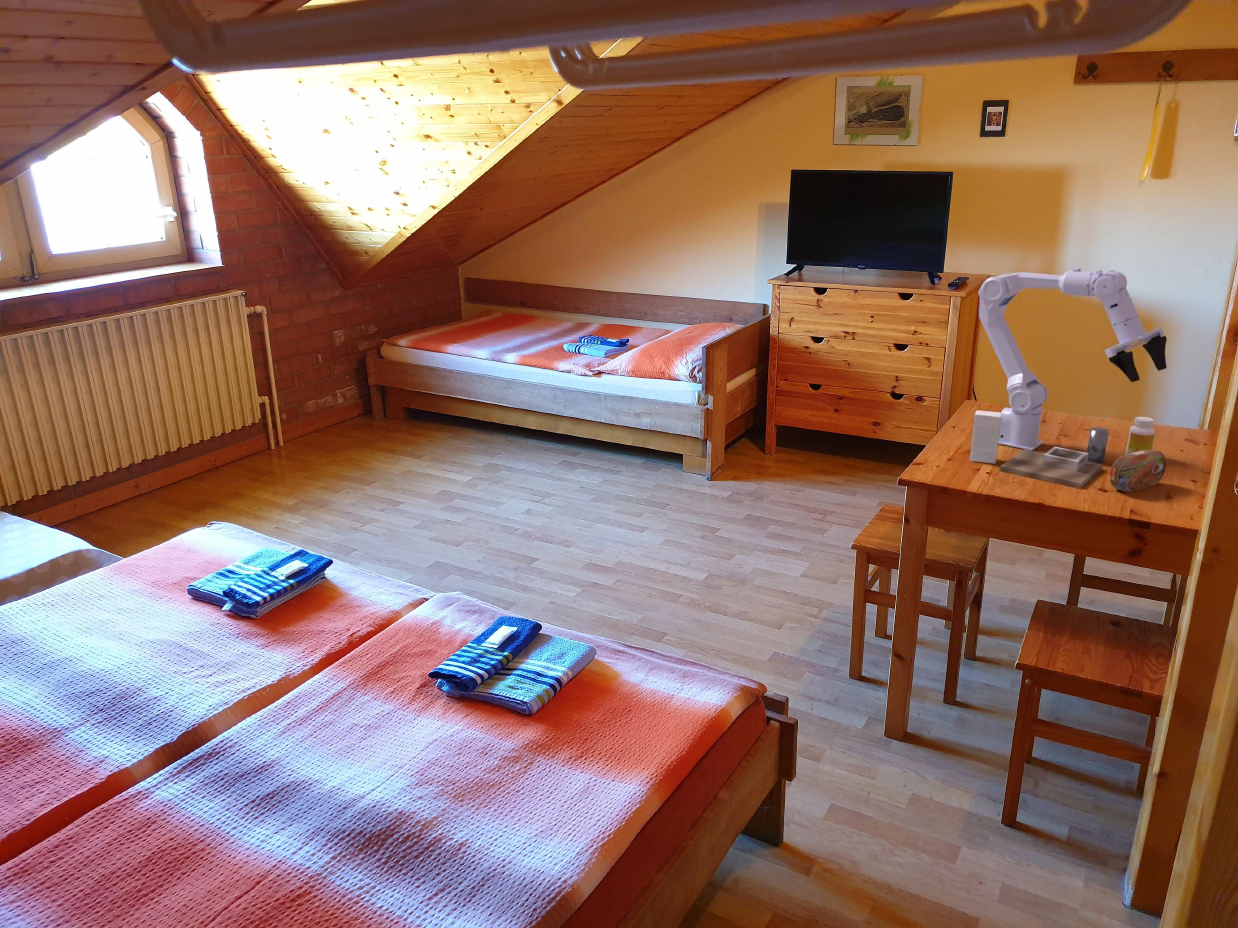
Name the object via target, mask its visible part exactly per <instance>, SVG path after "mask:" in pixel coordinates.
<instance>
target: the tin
mask: <svg viewBox="0 0 1238 928" xmlns="http://www.w3.org/2000/svg"><path fill="white" fill-rule="evenodd" d="M1166 467H1167V462H1166V457H1165V455H1164V453H1163V452H1161V451H1159V450H1153V449H1152V450H1142V451H1138V452H1134V453H1129V454H1122V455H1120V456H1118V457H1117V458H1116V459H1115V461H1114V462H1113V464H1112V465H1111V469H1110V475H1109V482H1110V484H1111V486H1112V488H1114V489H1115V490H1118V491H1122V492H1124V493H1131V492H1135V491H1140V490H1143V489H1147V488H1151V487H1154V486H1156V485H1157V484H1158V483H1159V482H1160V481H1161V479H1163V476H1164V473H1165V471H1166Z"/></svg>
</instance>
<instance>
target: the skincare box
mask: <svg viewBox="0 0 1238 928" xmlns="http://www.w3.org/2000/svg"><path fill="white" fill-rule="evenodd" d="M1001 412H1002V411H1001ZM1001 412H1000V411H999V412H997V411H989V410H988V411H986V410H978V409H977V410H975V413H974V419H973V429H972V430H973V431H972V435H971V436H972V438H971V446H970V447H971V448H970V457H969V462H978V463H985V464H986V463H988V464H993V465H994V464H996V463H997V458H998V451H999V450H998V449H999V444H998V443H999V434H1000V426H1001V417H1002V413H1001Z"/></svg>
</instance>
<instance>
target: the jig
mask: <svg viewBox="0 0 1238 928" xmlns="http://www.w3.org/2000/svg"><path fill="white" fill-rule="evenodd" d="M1087 457H1088V453H1087V452H1083V451H1079V450H1073V449H1068V448H1062V447H1059V446H1054V447H1052V448H1051V449H1050V450H1048V451H1047V452H1042V451H1041V452H1040V451H1037V450H1036V451H1035V450H1027V449H1023V450H1021V451H1020V452H1018V453H1017V454H1015V455H1014V456H1013V457H1011V458H1010V459H1008V460H1007V461H1005V462H1004V463H1003V464H1001V465H1000V467H999V471H1000V472H1003V473H1008V474H1012V475H1013V474H1014V475H1016V476H1017V475H1018V476H1022V477H1027V478H1030V479H1031V478H1032V479H1036V480H1040V481H1043V482H1044V481H1046V482H1050V483H1054V484H1058V485H1064V486H1067V487H1072V488H1077V489H1082V488H1083V487H1084V486H1085V485H1086V484H1087V483H1088V482H1089V481H1091V479H1092V478H1094V477H1095V476H1096V475H1097V474H1098V473H1099V472H1100V471H1102V469H1103V463H1102V464H1097V463H1092V462H1087Z"/></svg>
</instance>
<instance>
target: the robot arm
mask: <svg viewBox="0 0 1238 928" xmlns="http://www.w3.org/2000/svg"><path fill="white" fill-rule="evenodd" d="M1127 286H1128V280H1127V277H1126V275H1125V274H1124V273H1122V272H1120V271H1116V270H1108V271H1106V272H1104V273H1103V269H1096V270H1095V271H1094V270H1093V271H1089V270H1088V271H1086V270H1082V269H1081V267H1075V268H1072V270H1069V269H1068V270H1067V271H1066V272H1065V273H1064V274H1061V275H1059V274H1050V273H1038V272H1026V271H1024V272H1023V271H1022V272H1020V271H1019V272H1018V271H1017V272H1013V273H1012V272H1005V273H1002V274H999V275H997V276H991V277H988V278H987V279H985V280H984V281H983V282H982V284H981V286H980V288H979V290H978V293H977V294H978V297H979V305H978V306H979V309H978V317H979V320H980V322H981V324H982V326H983V328H984V330H985V333H986V335H987V337H988V339H989V341H990V344H991V346H992V348H993V350H994V351H995V355H996V357H997V358H998V361H999V363H1000V365H1001V368H1002V369H1003V371H1004V374H1005V375H1006V378H1007V384H1006V391H1007V393H1008V403H1009V406H1010V407H1004V408H1003V409H1002V410H1001V413H1002V417H1001V426H1000V434H999V443H998V445H1004V446H1008V447H1013V448H1019V449H1023V450H1024V449H1027V450H1032V451H1035V449H1036V448H1038V447H1039V446H1041V445H1042V444H1043V443H1044V441H1043V440H1040V439H1039V434H1040V429H1041V428H1040V427H1041V422H1042V415H1043V407H1042V405H1043V404H1044V403H1045V402H1047V399H1048V398H1049V391H1048V389H1047V387H1046V386H1045V385H1044V384H1043V383H1041V381H1040V380H1039V379H1038V376H1037V375H1036V374H1035V373H1033V372H1032V371H1031V370H1030V369H1029V367H1028V365H1027V362H1026V360H1025V358H1024V356H1023V354H1022V352H1021V350H1020V348H1019V346H1018V343H1017V341H1016V339H1015V337H1014V335H1013V332H1012V331H1011V329H1010V327H1009V323H1008V322H1007V320H1006V318H1005V316H1004V314H1005V311H1006V310H1007V307H1008V305H1009V304H1010V302H1012V300H1013V299H1014V298H1015V297H1016V296H1017V295H1018V293H1019V292H1020V291H1024V290H1026V289H1051V290H1056V289H1057V290H1060V291H1061V292H1062V293H1063V294H1064V295H1065V296H1077V297H1080V296H1081V297H1096V298H1097V299H1099V300H1100V301H1101V303H1102V305H1103V308H1104V310H1105V313H1106V315H1107V318H1108V320H1109V321H1110V323H1111V327H1112V329H1113V332H1114V333H1115V336H1116V338H1117V340H1118V342H1119V343H1118V344H1115V345H1114V346H1111V347H1109V348H1107V349H1104V352H1105V354H1106V358H1107V359H1108V361H1109V362H1110V363H1112V365H1114V366H1116V367H1117V368H1118V369H1119V370H1120V371H1122V373H1123V374H1124V375H1125V376H1126V377H1127V378H1128V380H1129V381H1130V382H1131V383H1135V382H1138V381H1140V375H1139V372H1138V370H1137V367H1136V364H1135V361H1134V352H1133V350H1132V351H1130V350H1131V349H1132V348H1136V347H1137V346H1141V345H1142V348H1143V349H1144V351H1146V352H1147V353H1148V356H1150V358H1151V360H1152V363H1153V364H1154V366H1155V368H1156V370H1157V371H1162V370H1165V369H1167V367H1168V366H1167V360H1166V345H1167V336H1166V335H1165V334H1166V333H1165V332H1164V329H1163V327H1161V326H1160V327H1156V328H1155V329H1152V330H1150V331H1146V330H1145V327H1144V325H1143V323H1142V320H1141V318H1140V315H1139V312H1138V311H1137V309H1136V306H1135V304H1134V301H1133V299H1132V297H1131V296H1130V293H1129V292H1128V289H1127ZM1136 342H1137V343H1136ZM1128 350H1129V351H1128Z"/></svg>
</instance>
